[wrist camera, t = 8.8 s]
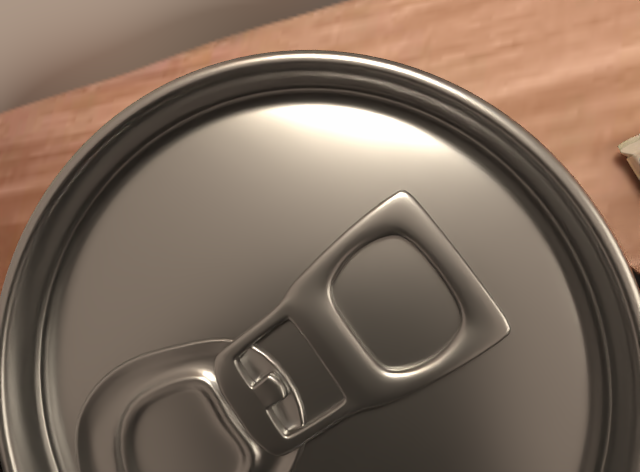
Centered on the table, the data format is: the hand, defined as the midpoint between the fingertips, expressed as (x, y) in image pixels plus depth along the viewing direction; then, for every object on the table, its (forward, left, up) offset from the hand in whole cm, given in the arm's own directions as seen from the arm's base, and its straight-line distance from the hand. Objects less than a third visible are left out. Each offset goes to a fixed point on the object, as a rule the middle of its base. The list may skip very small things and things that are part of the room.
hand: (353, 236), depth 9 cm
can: (-1, +1, -7) cm, 7 cm away
